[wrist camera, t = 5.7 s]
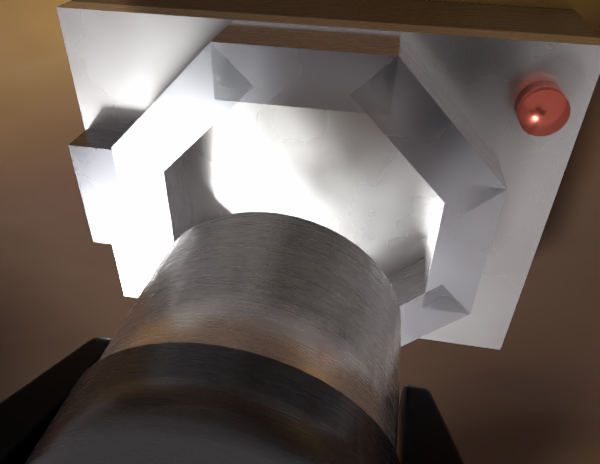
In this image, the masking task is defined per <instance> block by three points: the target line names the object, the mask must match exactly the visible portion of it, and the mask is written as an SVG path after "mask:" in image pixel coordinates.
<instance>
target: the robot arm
mask: <svg viewBox="0 0 600 464" xmlns="http://www.w3.org/2000/svg"><path fill="white" fill-rule="evenodd" d="M111 340H112V339H109V338H103V337H95V338H93V339H91V340H90V341H88V342H87V343H85V344H84V345H82V346H81V347H80V348H78V349H77V350H75V351H74V352H72V353H71V354H70V355H68V356H67V357H65V358H64V359H62V360H61V361H60V362H58V363H57V364H55V365H54V366H52V367H51V368H50V369H48V370H47V371H45V372H44V373H42V374H41V375H40V376H38V377H37V378H35V379H34V380H32V381H31V382H30V383H28V384H27V385H25V386H24V387H23V388H21V389H20V390H18V391H17V392H15V393H14V394H13V395H11V396H10V397H8V398H7V399H5V400H4V401H3V402H1V403H0V464H24V463H25V462H26V460H27V459H28V457H29V456H30V454H31V452H32V451H33V449H34V448H35V446H36V445H37V443H38V442H39V440H40V438H41V437H42V435H43V434H44V432H45V431H46V429H47V428H48V426H49V424H50V423H51V421H52V420H53V418H54V417H55V415H56V413H57V412H58V410H59V409H60V407H61V406H62V404H63V403H64V401H65V399H66V398H67V396H68V395H69V393H70V392H71V390H72V389H73V387H74V385H75V384H76V382H77V381H78V380H79V378H80V377H81V376H82V374H83V373H84V372H85V371H86V370H87V369H89V368H90V367H91V366H92V365H93V364H94V363H96V362H98V360H99V359H100V357H101V356H102V354H103V352H104V351H105V349H106V348H107V346H108V344H109V343H110V341H111ZM397 455H398V458H399V461H400V464H464V462H463V460H462V458H461V456H460V454H459V452H458V450H457V447H456V445H455V443H454V441H453V439H452V437H451V435H450V433H449V431H448V429H447V426H446V424H445V422H444V420H443V418H442V416H441V414H440V412H439V410H438V407H437V405H436V403H435V401H434V399H433V397H432V395H431V393H430V391H429V390H428V389H427V388H425V387H419V386H412V385H406V386H404V388H403V391H402V395H401V400H400V405H399V410H398V431H397Z"/></svg>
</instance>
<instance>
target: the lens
mask: <svg viewBox="0 0 600 464" xmlns="http://www.w3.org/2000/svg"><path fill="white" fill-rule="evenodd" d="M400 347H401V312H400V306H399V303H398V299H397V296H396V293H395V291H394V289H393V287H392V285H391V283H390V281H389V280H388V278H387V277H386V275H385V274H384V272H383V271H382V269H381V268H380V267H379V266H378V265H377V264H376V262H375V261H374V260H373V259H372V258H371V257H370V256H369V255H368V254H366V253H365V252H364V251H363V250H362V249H361V248H360V247H358V246H357V245H356V244H354V243H353V242H351V241H350V240H348V239H347V238H346V237H344V236H342V235H340V234H338V233H337V232H335V231H333V230H331V229H329V228H327V227H324V226H322V225H320V224H317V223H315V222H312V221H309V220H306V219H302V218H299V217H295V216H291V215H285V214H280V213H273V212H257V211H256V212H238V213H232V214H226V215H222V216H218V217H215V218H212V219H209V220H206V221H204V222H202V223H200V224H198V225H196V226H194V227H192V228H191V229H189V230H188V231H186V232H185V233H183V234H182V235H181V236H180V237H179V238H178V239H177V240H176V241H175V242H174V243H173V244H172V245H171V247H170V248H169V249H168V251H167V252H166V254H165V255H164V257H163V258H162V260H161V261H160V263H159V265H158V266H157V268H156V269H155V271H154V273H153V274H152V276H151V277H150V279H149V281H148V282H147V284H146V285H145V287H144V289H143V290H142V292H141V293H140V295H139V297H138V298H137V300H136V301H135V303H134V305H133V306H132V308H131V309H130V311H129V313H128V314H127V316H126V317H125V319H124V321H123V322H122V324H121V325H120V327H119V329H118V330H117V332H116V333H115V335H114V336H113V338H112V340H111V341H110V343H109V344H108V346H107V348H106V349H105V351H104V352H103V354H102V356H101V357H100V359H99V360H98V362H96V363H94V364H93V365H92V366H91V367H90V368H89V369H87V370H86V371H85V372H84V373H83V374H82V376H81V377H80V378H79V380H78V381H77V382H76V384H75V385H74V387H73V389H72V390H71V392H70V393H69V395H68V396H67V398H66V399H65V401H64V403H63V404H62V406H61V407H60V409H59V410H58V412H57V413H56V415H55V417H54V418H53V420H52V421H51V423H50V424H49V426H48V428H47V429H46V431H45V432H44V434H43V435H42V437H41V438H40V440H39V442H38V443H37V445H36V446H35V448H34V449H33V451H32V452H31V454H30V456H29V457H28V459H27V460H26V462H25V463H24V464H400V461H399V458H398V455H397V431H398V403H399V375H400Z"/></svg>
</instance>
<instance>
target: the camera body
mask: <svg viewBox="0 0 600 464" xmlns="http://www.w3.org/2000/svg"><path fill="white" fill-rule="evenodd" d="M56 8H57V12H58V17H59V21H60V25H61V29H62V34H63V38H64V42H65V46H66V50H67V55H68V59H69V63H70V67H71V72H72V76H73V80H74V84H75V89H76V93H77V97H78V101H79V106H80V110H81V114H82V118H83V123H84V127H85V131H84V132H83V133H82V134H81V135H80V136H79V137H77V138H76V139H75V140H74V141H73V142H72V143H70V144H69V145H68V146H69V149H70V153H71V157H72V161H73V165H74V169H75V172H76V176H77V180H78V184H79V188H80V192H81V195H82V199H83V203H84V207H85V211H86V215H87V218H88V222H89V226H90V230H91V234H92V238H93V241H94V242H100V243H107V244H112V246H113V250H114V254H115V258H116V263H117V267H118V271H119V275H120V280H121V284H122V288H123V292H124V296H128V297H135V298H138V297H139V295H140V293H141V292H142V290H143V289H144V287H145V285H146V284H147V282H148V281H149V279H150V277H151V276H152V274H153V273H154V271H155V269H156V268H157V266H158V265H159V263H160V261H161V260H162V258H163V257H164V255H165V254H166V252H167V251H168V249H169V248H170V247H171V245H172V244H173V243H174V242H175V241H176V240H177V239H178V238H179V237H180V236H181V235H182V234H183V233H185V232H186V231H188V230H189V229H191V228H192V227H194V226H196V225H198V224H200V223H202V222H204V221H206V220H209V219H212V218H215V217H218V216H222V215H226V214H232V213H238V212H256V211H257V212H273V213H280V214H285V215H291V216H295V217H299V218H302V219H306V220H309V221H312V222H315V223H317V224H320V225H322V226H324V227H327V228H329V229H331V230H333V231H335V232H337V233H338V234H340V235H342V236H344V237H346V238H347V239H348V240H350V241H351V242H353V243H354V244H356V245H357V246H358V247H360V248H361V249H362V250H363V251H364V252H365V253H366V254H368V255H369V256H370V257H371V258H372V259H373V260H374V261H375V262H376V264H377V265H378V266H379V267H380V268H381V269H382V271H383V272H384V274H385V275H386V277H387V278H388V280H389V281H390V283H391V285H392V287H393V289H394V291H395V293H396V296H397V299H398V303H399V306H400V312H401V346H403V345H405V344H407V343H410V342H412V341H414V340H416V339H418V338H422V339H429V340H436V341H443V342H450V343H457V344H463V345H470V346H477V347H484V348H491V349H498V350H500V349H501V346H502V344H503V341H504V338H505V335H506V333H507V330H508V327H509V324H510V321H511V319H512V316H513V313H514V310H515V308H516V305H517V302H518V299H519V296H520V294H521V291H522V288H523V285H524V283H525V280H526V277H527V274H528V271H529V269H530V266H531V263H532V260H533V258H534V255H535V252H536V249H537V246H538V244H539V241H540V238H541V235H542V233H543V230H544V227H545V224H546V221H547V219H548V216H549V213H550V210H551V208H552V205H553V202H554V199H555V196H556V194H557V191H558V188H559V185H560V183H561V180H562V177H563V174H564V171H565V169H566V166H567V163H568V160H569V158H570V155H571V152H572V149H573V146H574V144H575V141H576V138H577V135H578V133H579V130H580V127H581V124H582V121H583V119H584V116H585V113H586V110H587V108H588V105H589V102H590V99H591V96H592V94H593V91H594V88H595V85H596V83H597V80H598V77H599V74H600V36H599V35H598V34H597V33H596V32H595V31H594V30H593V29H592V28H591V27H590V26H589V25H588V24H587V23H586V22H585V21H584V20H583V19H582V18H581V17H580V16H579V15H578V13H577V12H576V11H575V10H567V9H551V8H536V7H520V6H504V5H488V4H472V3H456V2H440V1H424V0H72V1H69V2H67V3H65V4H63V5H60V6H58V7H56Z"/></svg>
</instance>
